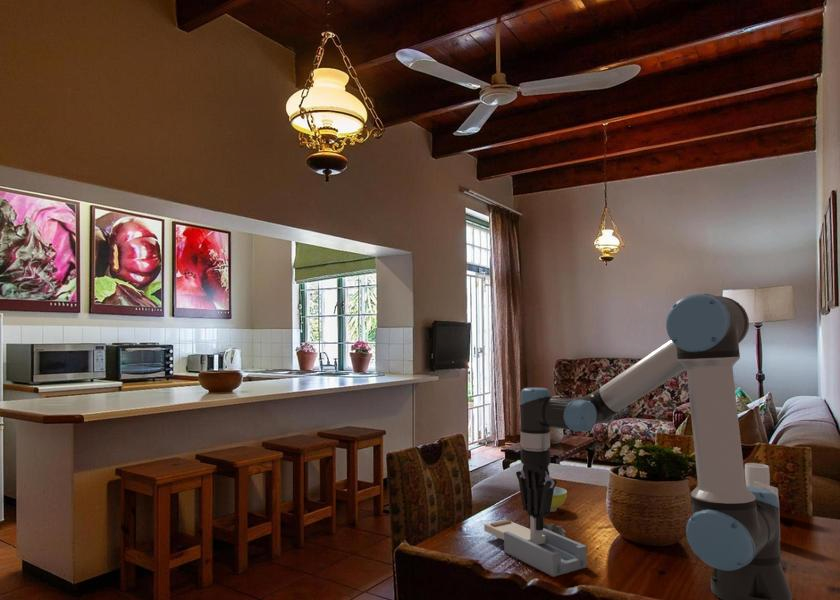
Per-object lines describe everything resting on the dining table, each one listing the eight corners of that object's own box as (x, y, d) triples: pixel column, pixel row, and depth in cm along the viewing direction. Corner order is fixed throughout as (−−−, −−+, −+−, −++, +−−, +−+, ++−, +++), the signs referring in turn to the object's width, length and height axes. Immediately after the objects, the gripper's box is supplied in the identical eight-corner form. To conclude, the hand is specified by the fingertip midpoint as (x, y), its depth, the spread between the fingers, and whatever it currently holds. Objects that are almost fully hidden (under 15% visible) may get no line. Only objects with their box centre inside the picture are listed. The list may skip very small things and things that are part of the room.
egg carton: (567, 549, 151) (567, 533, 151) (538, 547, 152) (538, 532, 152) (563, 535, 162) (563, 520, 162) (536, 533, 163) (536, 519, 163)
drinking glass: (741, 511, 182) (739, 464, 183) (755, 509, 185) (753, 462, 186) (761, 518, 176) (760, 468, 177) (776, 515, 178) (774, 466, 179)
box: (586, 567, 139) (586, 545, 139) (553, 576, 133) (552, 554, 133) (536, 543, 154) (536, 524, 154) (504, 551, 148) (504, 532, 149)
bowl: (524, 506, 188) (524, 487, 188) (555, 503, 191) (555, 484, 192) (542, 516, 177) (541, 496, 177) (574, 513, 180) (574, 493, 181)
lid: (545, 542, 149) (545, 533, 149) (522, 548, 145) (522, 539, 145) (506, 525, 162) (506, 517, 162) (484, 530, 158) (484, 522, 158)
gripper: (564, 451, 144) (565, 547, 142) (529, 442, 155) (530, 531, 154) (541, 454, 140) (543, 552, 139) (507, 445, 151) (508, 536, 150)
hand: (536, 541), depth 146 cm, fingers closed
